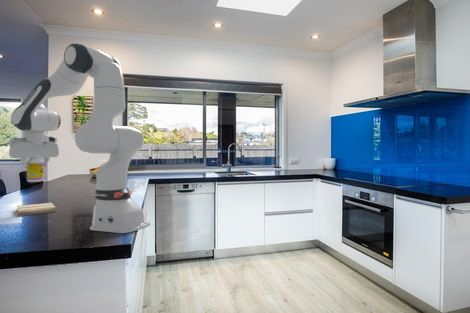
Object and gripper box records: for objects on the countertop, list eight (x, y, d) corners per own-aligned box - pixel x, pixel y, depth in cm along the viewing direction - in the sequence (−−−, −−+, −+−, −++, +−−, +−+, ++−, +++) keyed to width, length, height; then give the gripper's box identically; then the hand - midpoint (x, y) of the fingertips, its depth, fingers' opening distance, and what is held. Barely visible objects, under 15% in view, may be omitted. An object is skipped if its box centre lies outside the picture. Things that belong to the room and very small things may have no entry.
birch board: (55, 211, 131) (55, 207, 131) (18, 216, 122) (18, 211, 122) (51, 206, 143) (51, 202, 143) (17, 210, 134) (17, 205, 134)
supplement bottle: (42, 181, 130) (41, 154, 130) (24, 182, 128) (24, 154, 127) (45, 180, 136) (45, 154, 136) (29, 180, 134) (29, 154, 134)
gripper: (13, 137, 121) (13, 168, 121) (60, 138, 139) (60, 166, 140) (5, 137, 124) (6, 168, 124) (52, 138, 142) (53, 165, 142)
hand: (35, 167), depth 132 cm, fingers closed on supplement bottle, 7 cm apart
